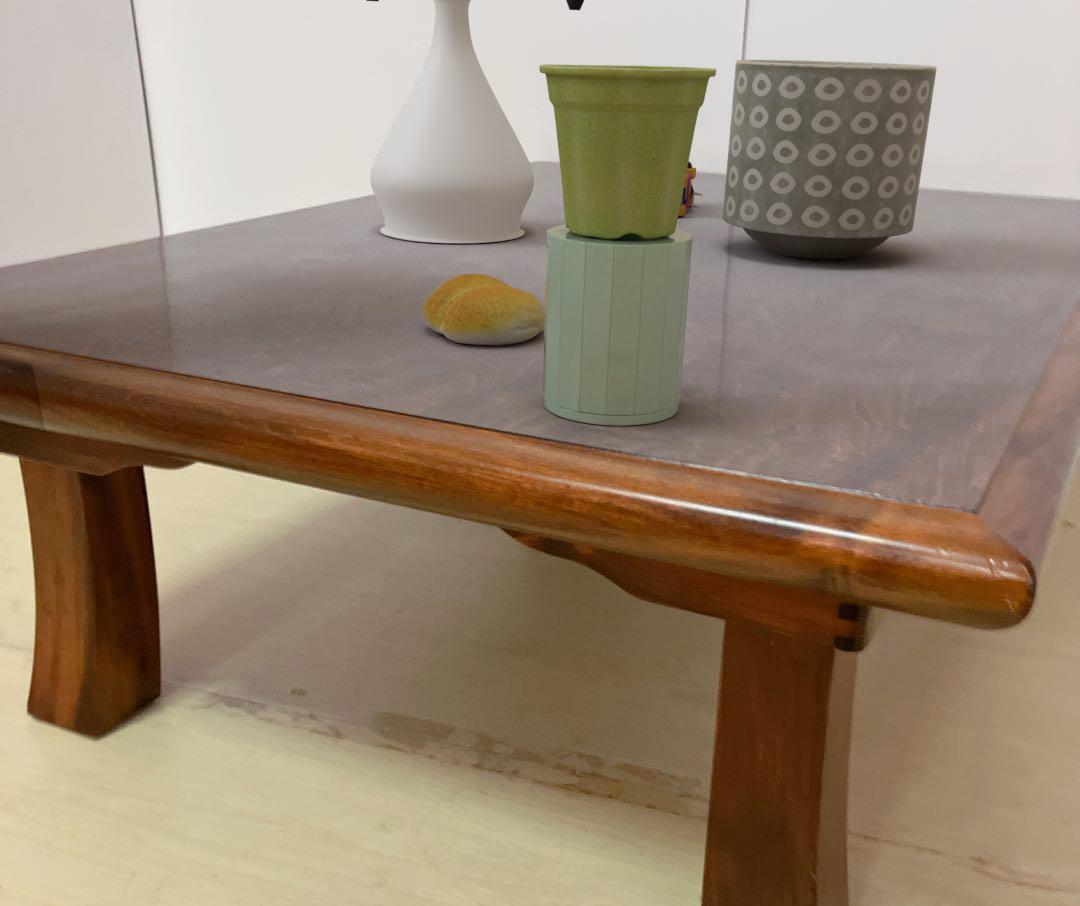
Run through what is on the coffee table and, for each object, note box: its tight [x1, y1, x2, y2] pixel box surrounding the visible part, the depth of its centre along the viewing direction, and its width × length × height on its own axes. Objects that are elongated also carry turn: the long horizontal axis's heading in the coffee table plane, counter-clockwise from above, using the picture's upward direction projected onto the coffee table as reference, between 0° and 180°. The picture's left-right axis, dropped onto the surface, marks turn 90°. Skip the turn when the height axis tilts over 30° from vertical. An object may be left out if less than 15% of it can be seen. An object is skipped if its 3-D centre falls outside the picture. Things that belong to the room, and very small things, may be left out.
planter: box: [722, 59, 938, 261], centre depth 118 cm, size 19×19×18 cm
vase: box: [369, 0, 535, 244], centre depth 123 cm, size 17×17×25 cm
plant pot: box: [538, 63, 717, 239], centre depth 64 cm, size 9×9×9 cm
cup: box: [542, 224, 693, 427], centre depth 68 cm, size 8×8×10 cm
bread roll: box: [422, 273, 545, 346], centre depth 85 cm, size 8×9×4 cm
